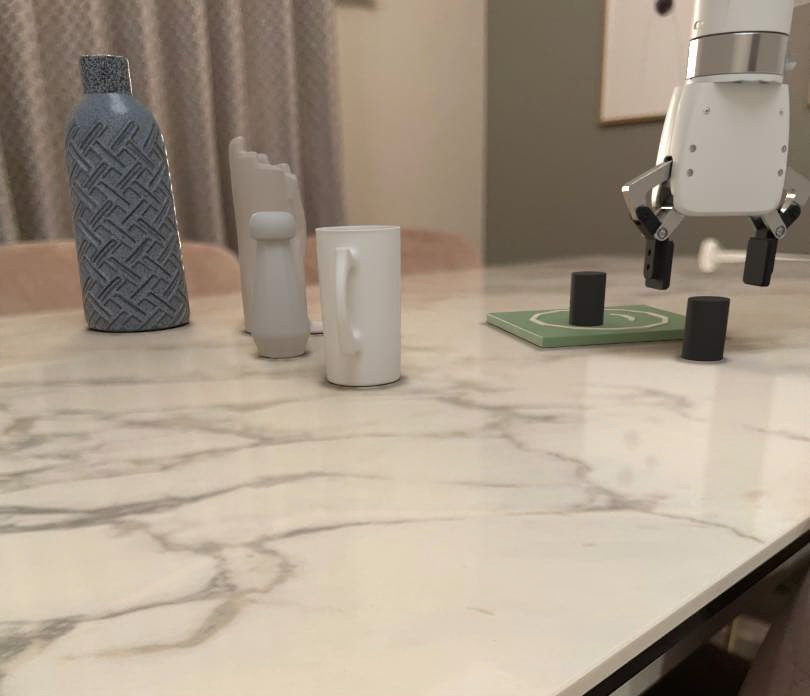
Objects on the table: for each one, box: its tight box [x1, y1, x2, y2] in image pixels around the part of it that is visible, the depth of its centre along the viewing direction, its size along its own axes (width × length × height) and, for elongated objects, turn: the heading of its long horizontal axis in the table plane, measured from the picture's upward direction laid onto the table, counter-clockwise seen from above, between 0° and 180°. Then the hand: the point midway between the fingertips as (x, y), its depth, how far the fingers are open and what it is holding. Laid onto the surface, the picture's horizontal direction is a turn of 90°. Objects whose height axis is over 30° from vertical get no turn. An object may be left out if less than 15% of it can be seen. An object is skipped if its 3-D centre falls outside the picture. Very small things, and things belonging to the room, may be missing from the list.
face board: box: [486, 304, 686, 349], centre depth 93 cm, size 20×18×1 cm
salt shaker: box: [249, 211, 311, 359], centre depth 80 cm, size 6×6×13 cm
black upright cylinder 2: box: [681, 295, 731, 362], centre depth 76 cm, size 4×4×5 cm
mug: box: [315, 225, 402, 387], centre depth 68 cm, size 10×7×12 cm, turn 169°
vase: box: [63, 54, 191, 333], centre depth 97 cm, size 12×12×28 cm
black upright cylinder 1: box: [568, 270, 608, 326], centre depth 89 cm, size 4×4×5 cm
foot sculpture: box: [228, 135, 323, 334], centre depth 93 cm, size 7×14×20 cm, turn 88°
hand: (706, 286), depth 75 cm, fingers open, 9 cm apart
